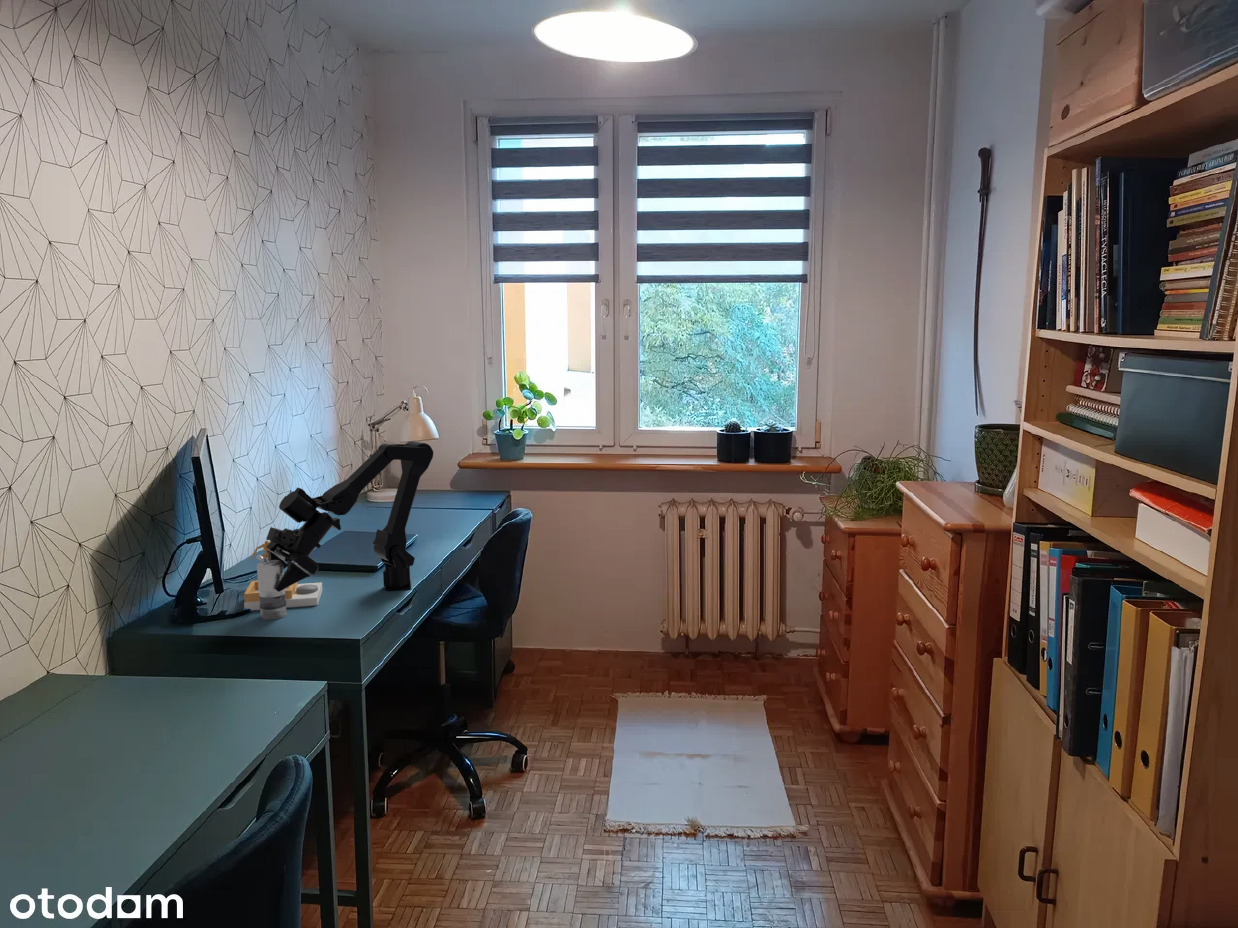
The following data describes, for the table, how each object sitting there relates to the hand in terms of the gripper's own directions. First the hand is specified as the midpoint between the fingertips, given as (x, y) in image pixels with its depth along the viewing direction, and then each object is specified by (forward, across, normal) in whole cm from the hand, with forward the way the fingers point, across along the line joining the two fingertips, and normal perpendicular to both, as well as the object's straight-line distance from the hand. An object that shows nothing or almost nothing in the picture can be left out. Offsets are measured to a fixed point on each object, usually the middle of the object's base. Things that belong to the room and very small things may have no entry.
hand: (269, 586), depth 212 cm
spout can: (+5, 0, +6) cm, 8 cm away
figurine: (-1, -26, +12) cm, 29 cm away
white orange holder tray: (0, -10, +10) cm, 14 cm away
